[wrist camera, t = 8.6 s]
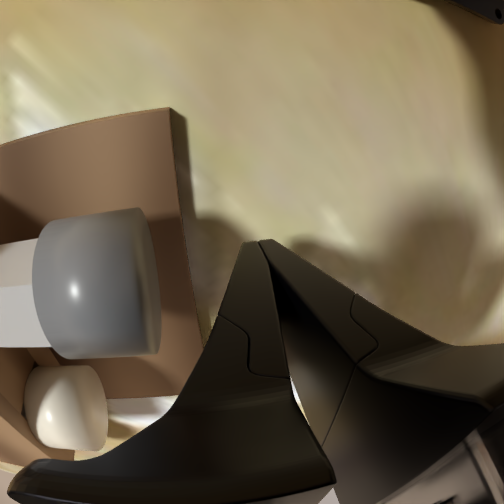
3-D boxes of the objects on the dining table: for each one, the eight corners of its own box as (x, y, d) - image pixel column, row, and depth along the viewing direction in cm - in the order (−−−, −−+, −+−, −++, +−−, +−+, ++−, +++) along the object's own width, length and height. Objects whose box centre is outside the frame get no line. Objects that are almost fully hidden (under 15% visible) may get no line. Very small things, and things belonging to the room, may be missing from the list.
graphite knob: (141, 184, 9) (118, 265, 5) (162, 289, 11) (161, 383, 8) (-68, 228, 7) (-120, 293, 4) (-30, 305, 9) (-63, 375, 6)
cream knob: (81, 347, 12) (67, 427, 9) (110, 394, 14) (106, 463, 11) (-52, 346, 10) (-74, 403, 7) (-17, 388, 13) (-31, 441, 9)
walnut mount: (169, 107, 9) (146, 165, 4) (210, 382, 17) (224, 475, 12) (-98, 186, 7) (-170, 259, 2) (15, 387, 15) (-1, 463, 10)
